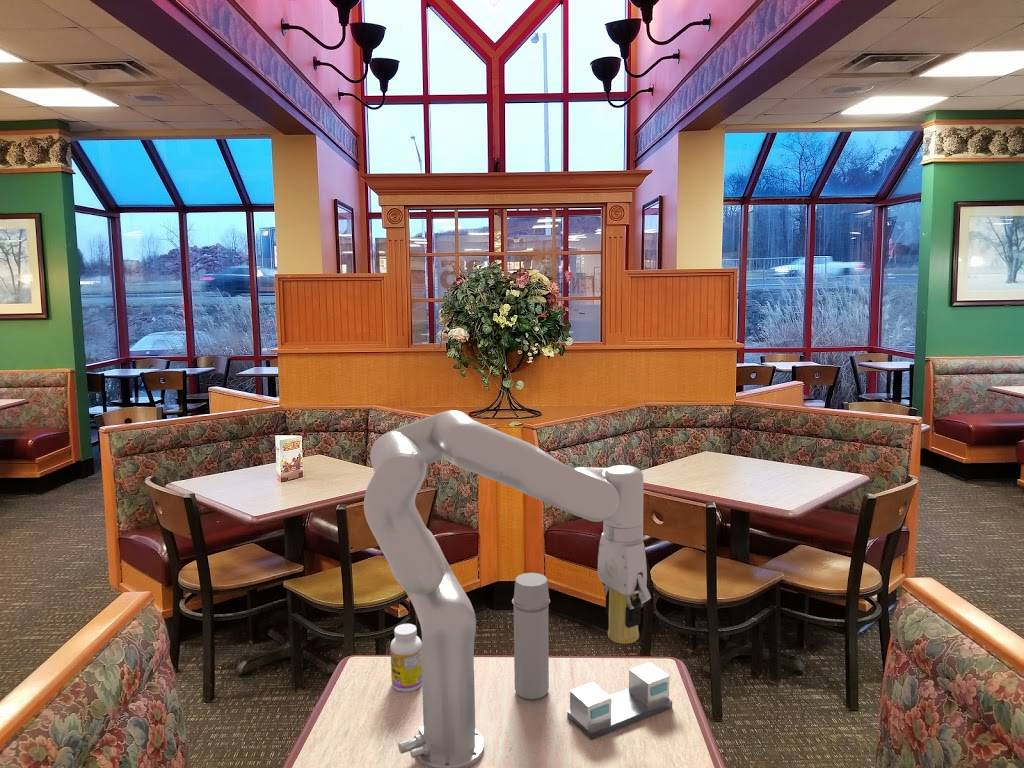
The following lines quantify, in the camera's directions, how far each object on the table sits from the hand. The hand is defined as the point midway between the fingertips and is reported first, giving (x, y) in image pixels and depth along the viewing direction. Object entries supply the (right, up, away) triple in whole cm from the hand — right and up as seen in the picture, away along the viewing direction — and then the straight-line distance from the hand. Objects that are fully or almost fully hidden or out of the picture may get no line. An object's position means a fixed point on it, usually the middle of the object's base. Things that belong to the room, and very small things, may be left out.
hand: (622, 617), depth 143 cm
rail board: (0, -20, +3) cm, 20 cm away
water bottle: (-17, -19, +12) cm, 28 cm away
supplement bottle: (-44, -19, +14) cm, 50 cm away
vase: (0, -4, +1) cm, 4 cm away
